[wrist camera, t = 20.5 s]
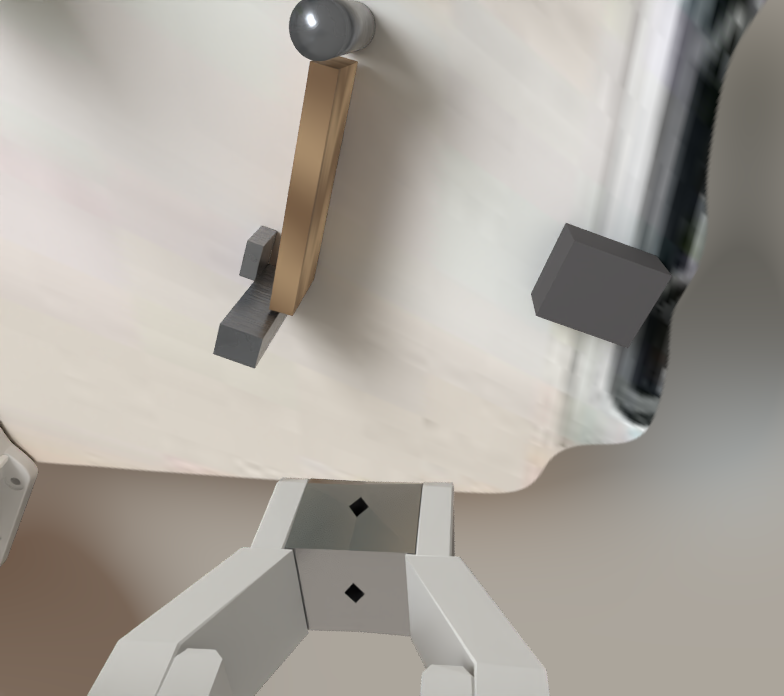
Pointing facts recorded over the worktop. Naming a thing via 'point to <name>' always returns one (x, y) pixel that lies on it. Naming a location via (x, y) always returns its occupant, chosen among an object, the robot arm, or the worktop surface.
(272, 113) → the worktop surface
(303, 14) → the hinge post
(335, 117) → the gate
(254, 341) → the post
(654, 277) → the block
